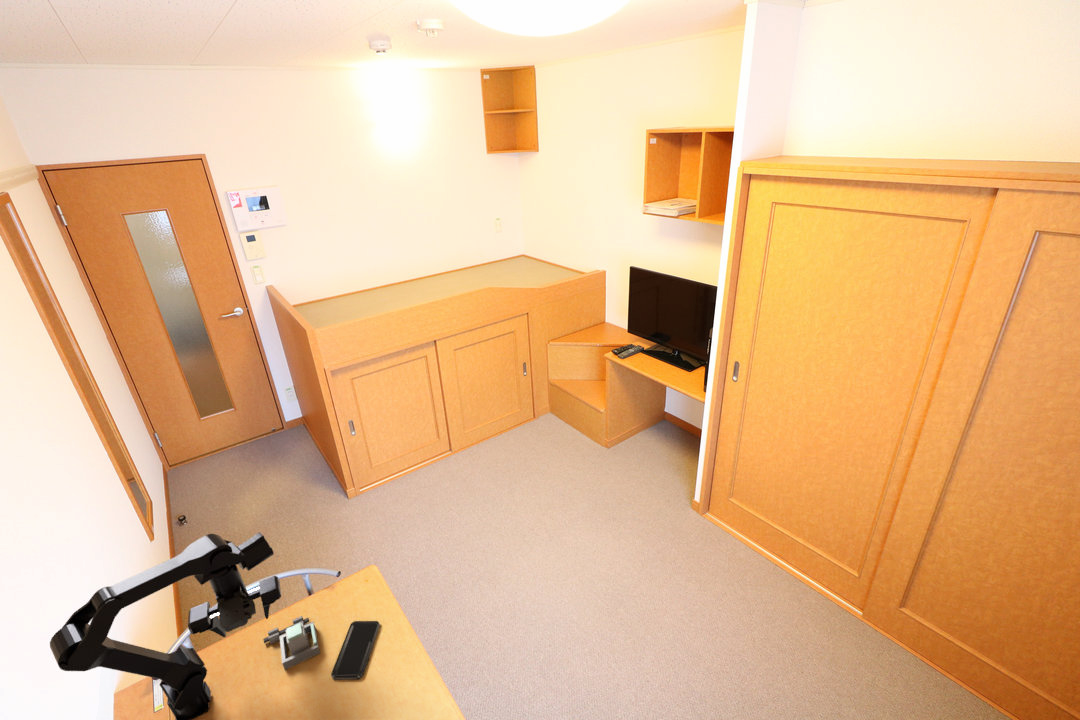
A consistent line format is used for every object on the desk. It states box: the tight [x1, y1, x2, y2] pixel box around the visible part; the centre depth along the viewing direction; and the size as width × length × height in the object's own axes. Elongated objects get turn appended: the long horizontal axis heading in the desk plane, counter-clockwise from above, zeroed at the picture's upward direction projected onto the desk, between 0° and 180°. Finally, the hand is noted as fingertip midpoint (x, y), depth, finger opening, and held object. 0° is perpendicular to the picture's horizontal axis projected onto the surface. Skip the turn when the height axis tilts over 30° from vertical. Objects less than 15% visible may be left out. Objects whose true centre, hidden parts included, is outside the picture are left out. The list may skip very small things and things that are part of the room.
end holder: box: [279, 621, 321, 671], centre depth 127 cm, size 8×8×3 cm
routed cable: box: [262, 615, 310, 645], centre depth 131 cm, size 11×2×2 cm, turn 120°
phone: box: [331, 620, 381, 681], centre depth 127 cm, size 8×1×15 cm
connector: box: [285, 623, 311, 656], centre depth 126 cm, size 4×4×7 cm
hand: (246, 626), depth 122 cm, fingers open, 9 cm apart
